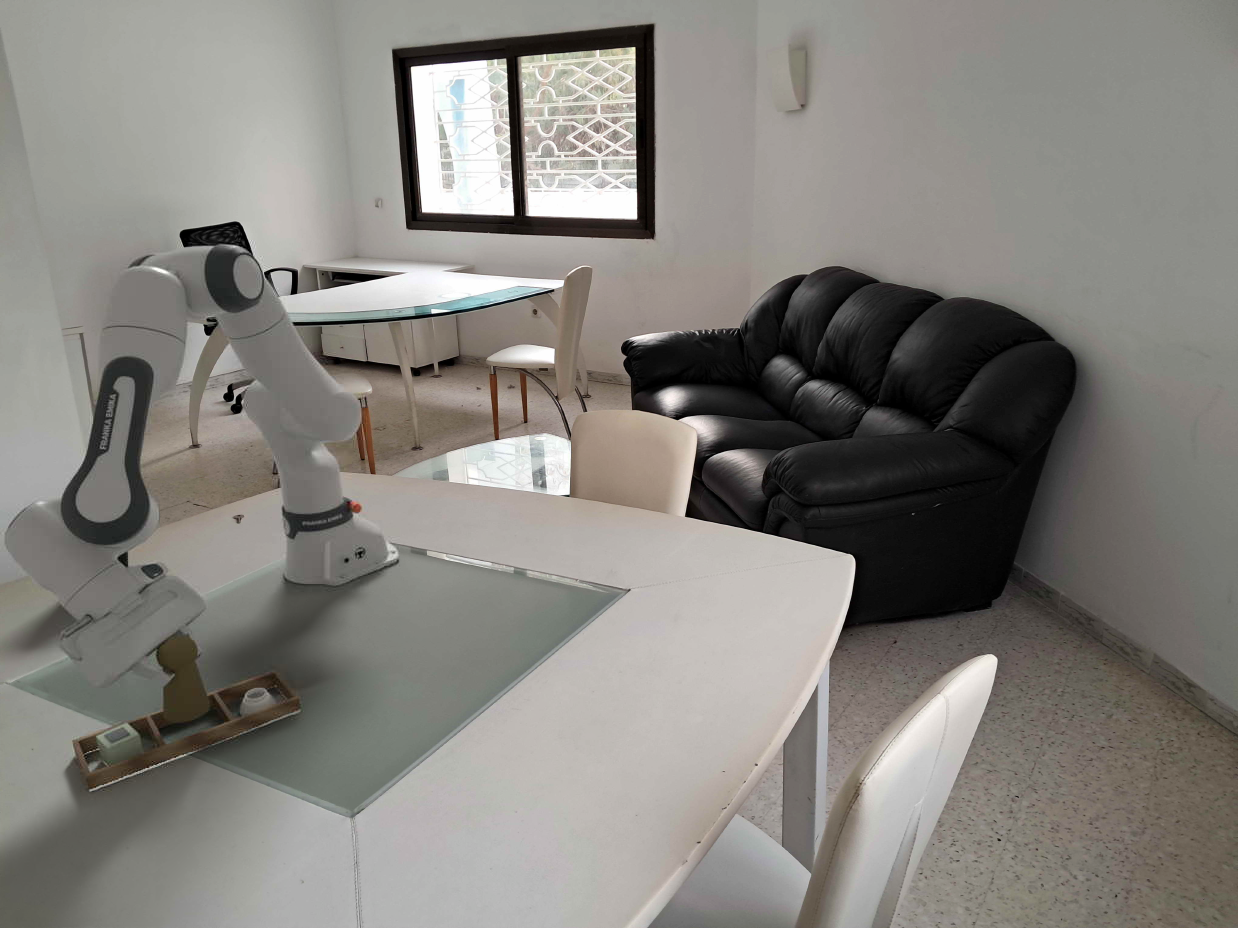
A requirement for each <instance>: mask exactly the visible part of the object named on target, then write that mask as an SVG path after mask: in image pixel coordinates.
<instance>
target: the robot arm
mask: <svg viewBox="0 0 1238 928" xmlns="http://www.w3.org/2000/svg"><path fill="white" fill-rule="evenodd" d="M106 304H107V305H106V308H105V312H104V316H103V320H102V326H101V331H100V338H99V345H98V365H97V366H98V395H97V399H96V406H95V410H94V415H93V420H92V425H91V430H90V435H89V440H88V445H87V449H86V453H85V456H84V459H83V461H82V463H81V465H80V467H79V468H78V470H77V471H76V473H75V474H74V475H73V477H72V478H71V480H70V481H69V482H68V484H67V486H66V488H65V489H64V492H63V493H62V496H61V497H60V498H53V499H40V500H39V499H38V500H37V501H36V500H35V502H32V503H31V504H29V505H28V506H26V507H24V508H23V509H22V510H21V511H20V512H19V513H18V514H17V515H16V516H14V518H13V519H12V521H11V522H10V524H9V525H8V526H7V529H6V532H5V534H4V537H3V538H4V539H3V540H4V541H3V542H4V546H5V549H6V551H7V553H8V554H9V555H10V557H11V559H13V560H14V562H16V564H17V565H18V566H19V567H20V568H21V569H22V571H24V572H25V573H26V575H28V577H30V578H31V579H32V580H33V581H34V582H35V583H36V584H37V585H38V586H40V588H43V589H45V590H46V591H49V592H51V593H52V594H53V595H54V596H55V597H56V598H57V599H58V602H59V603H60V605H61V607H62V608H64V610H66V611H67V613H69V614H70V615H71V616H72V617H74V619H75V620H77V621H76V622H74V623H73V624H72V625H70V626H68V627H66V628H64V629H63V630H62V631H61V632H60V636H59V639H58V647H59V649H60V650H61V651H62V652H63V653H64V654H65V655H67V657H68V658H69V659H70V660H71V662H72V663H73V665H74V666H75V667H76V668H77V669H78V671H79V672H80V673H81V674H82V675H83V677H85V678H86V679H87V681H88V682H89V683H90V684H91V685H92V686H93V687H95V688H100V689H105V690H106V689H108V688H109V687H110V686H112V685H113V684H114V683H116V682H117V681H118V680H120V678H122V677H123V676H124V675H127V673H128V672H130V671H132V672H133V673H134V674H135V675H136V676H139V677H142V678H145V679H149V680H153V681H154V682H155V683H156V684H157V685H159V686H160V687H161V688H163V687H164V686H165V685H166V684H168V683H169V682H170V681H171V680H172V679H173V678H174V677H175V674H174V673H173V672H171V671H170V669H169V668H167V667H165V668H164V669H163V668H160V667H157V666H155V665H152V660H151V659H150V658H149V657H150V655H152V654H153V653H154V652H156V651H157V649H158V647H159V645H160V644H161V643H163V642H165V641H166V640H168V639H171V638H175V637H188V638H191V639H192V640H193V641H195V643H196V645H197V648H198V655H197V658H196V660H197V659H198V658H200V657H201V656H202V655H203V653H204V650H203V648H202V647H201V646H200V645H198V644H197V642H196V639H195V638H196V637H195V636H194V635H195V634H194V633H193V630H192V629H191V628H190V627H189V626H190V624H192V623H194V621H196V620H197V619H198V618H199V616H201V615H202V614H203V612H204V611H206V608H207V607H206V603H205V600H204V598H203V597H202V596H201V595H200V594H199V593H198V592H197V591H196V590H195V589H194V588H193V587H191V586H190V585H189V584H188V583H186V582H185V580H183V579H182V578H180V577H178V576H177V575H173V574H168V572H169V567H168V566H167V565H166V564H165V563H164V562H162V561H159V560H158V561H154V562H153V561H152V562H148V563H144V564H138V565H131V566H128V567H127V568H126V567H125V566H124V565H123V564H122V563H120V562H119V561H118V559H117V557H118V556H120V555H122V554H124V553H126V552H128V553H129V551H131V550H133V549H134V548H136V547H138V546H140V545H142V544H144V543H145V542H146V541H147V540H149V539H150V538H151V537H152V535H154V533H155V531H156V530H157V529H158V526H159V522H160V517H161V516H160V515H161V512H160V507H159V504H158V502H157V500H156V498H154V496H153V495H152V493H150V492H149V491H148V490H147V487H146V485H145V482H144V480H143V477H142V471H141V463H142V462H141V461H142V457H143V451H144V445H145V438H146V432H147V426H148V421H149V416H150V413H151V410H152V408H153V406H154V405H155V403H156V402H157V401H158V400H159V399H161V398H163V397H164V396H167V395H168V394H169V393H171V392H172V391H173V390H174V389H175V387H176V386H177V382H178V379H179V377H180V374H181V373H182V372H181V371H182V368H183V364H184V359H185V354H186V353H185V352H186V346H187V335H188V320H200V319H206V318H207V317H208V318H210V317H215V319H216V321H217V323H218V326H219V327H220V328H221V330H222V332H223V335H224V336H225V338H226V339H227V341H228V343H229V345H230V346H231V348H232V350H233V352H234V354H235V355H236V357H237V359H238V360H239V363H240V364H241V366H242V368H243V369H244V371H245V372H246V373H247V374H248V375H249V376H250V377H251V378H253V379H254V381H253V382H251V383H250V384H249V385H248V387H247V389H246V391H245V393H244V397H243V408H244V412H245V414H246V416H247V418H248V419H249V420H250V421H251V422H252V423H254V425H255V426H256V427H257V429H258V430H259V431H260V433H261V435H262V437H263V438H264V441H265V442H266V445H267V447H268V449H269V450H270V453H271V456H272V458H273V461H274V462H275V466H276V468H277V472H278V473H277V474H278V477H279V484H280V489H281V496H282V498H281V499H282V503H283V505H282V506H281V515H282V516H281V522H282V527H283V532H284V535H285V537H286V544H285V545H286V549H285V550H286V552H285V554H286V555H285V562H284V568H283V576H284V578H285V579H286V580H287V581H290V582H292V583H295V584H301V585H328V586H334V587H335V586H336V587H338V586H341V584H342V585H344V584H346V583H345V582H347V581H349V580H352V579H354V578H356V577H358V576H361V577H363V576H362V575H363V574H366V573H368V572H371V571H373V570H375V569H378V568H380V567H382V566H385V565H387V564H390V563H392V562H394V561H396V560H398V559H399V560H400V555H399V551H398V549H397V548H396V546H394V545H393V544H392V543H390V542H389V541H387V540H386V538H385V535H384V533H383V531H382V530H381V529H380V527H379V526H378V525H376V524H375V523H373V522H372V521H370V520H368V519H366V518H364V517H363V516H360V515H358V514H360V513H361V511H362V510H363V509H362V508H363V506H362V504H360V503H358V502H357V501H354V500H352V499H350V498H348V497H346V496H343V490H342V481H341V470H340V466H339V463H338V461H337V459H336V457H335V456H334V455H333V454H332V453H331V452H330V451H329V449H328V448H327V447H326V446H325V443H342V442H346V441H348V440H349V439H351V438H352V437H353V436H355V434H356V432H358V431H359V428H360V425H361V422H362V417H363V415H362V414H363V413H362V412H363V410H362V406H361V403H360V400H358V398H357V397H356V395H354V394H353V393H352V392H350V391H349V390H347V389H346V388H345V387H343V386H342V385H341V384H340V383H338V382H337V381H336V380H335V379H334V378H333V377H332V376H331V374H329V373H328V371H327V370H326V369H325V368H324V367H323V366H322V365H321V363H319V361H318V360H317V359H316V358H315V356H314V355H313V354H312V353H311V352H310V350H309V349H308V347H307V346H306V345H305V343H304V342H303V340H302V338H301V337H300V335H299V333H298V330H297V329H296V327H295V325H294V323H293V321H292V319H291V318H290V316H289V314H288V311H287V310H286V309H285V306H284V303H282V301H281V299H280V297H279V295H278V294H277V292H276V291H275V289H274V287H273V286H272V285H271V283H270V282H269V280H268V279H267V278H266V276H265V275H264V272H263V269H262V267H261V264H260V263H259V261H258V260H257V258H256V257H255V256H254V255H253V254H252V253H251V252H250V251H248V250H247V249H246V248H244V247H241V246H238V245H233V244H222V243H221V244H217V245H199V246H198V245H193V246H187V247H186V246H185V247H182V248H179V249H174V250H169V251H165V252H161V253H150V254H146V255H144V256H141V257H139V258H137V259H136V260H134V261H133V262H131V263H130V264H129V266H128V267H127V268H126V269H124V270H122V272H121V273H120V274H119V275H118V276H117V278H116V280H115V282H114V284H113V287H112V290H111V292H110V295H109V298H108V301H107V303H106ZM378 570H379V569H378ZM371 573H372V572H371ZM366 575H367V574H366ZM356 579H357V578H356ZM354 580H355V579H354ZM352 581H353V580H352ZM349 582H350V581H349ZM343 583H344V584H343ZM347 583H348V582H347ZM337 585H338V586H337Z"/></svg>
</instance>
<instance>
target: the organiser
mask: <svg viewBox="0 0 1238 928" xmlns="http://www.w3.org/2000/svg"><path fill="white" fill-rule="evenodd" d="M275 685H276V686H277V687H276V688H278V689H279V690H280V691H281V692H282V694H283V695H284V696H285V697H286V698H287V700H286V699H285V700H283V701H280V702H278V703H276V704H274V705H272V706H269V707H266V708H264V709H261V710H258V711H256V712H253V713H250V714H247V715H245V716H242V715H241V716H239V717H236V718H235V717H234V716H233V714H232V713H231V712H230V710H229V708H228V707H227V706H226V705H228V704H230V702H231V703H233V701H234V702H236V700H237V701H239V700H241V699H240V698H242V699H244V697H245V694H246V693H247V692H248V691H249V690H251V689H254V688H264V689H267V690H269V689H268V688H270V689H272V688H271V687H273V688H275V687H274V686H275ZM278 689H277V690H278ZM279 690H278V691H279ZM280 691H279V692H280ZM281 692H280V693H281ZM282 694H281V695H282ZM283 695H282V696H283ZM207 696H208V699H209V702H210V708H209V711H211V710H214V709H215V711H216V710H217V711H216V712H217V714H218V713H219V714H218V715H219V717H220V716H221V717H220V718H221V720H222V719H223V720H222V721H223V723H221V724H218V725H216V726H213V727H210V728H207V729H204V730H201V731H199V732H196V733H194V734H191V735H188V736H186V737H184V738H180V739H177V740H174V741H171V742H170V743H167V744H166V743H165V742H166V741H164V739H163V737H162V735H161V733H160V731H159V729H161V728H164V727H166V726H170V725H172V724H175V723H176V722H170V721H167V720H166V719H165V718H164V711H163V708H161V709H160V710H157V711H154V712H150V713H148V714H144V715H142V716H139V717H136V718H133V719H130V720H128V721H124V722H121V723H118V724H116V725H114V726H113V725H112V726H111V727H108V728H104V729H101V730H99V731H96V732H92V733H90V734H87V735H83V736H81V737H78V738H76V739H73V740H72V746H73V750H74V753H75V754H74V755H75V757H77V758H76V760H77V763H78V762H79V763H78V765H80V766H79V768H80V771H81V770H82V771H81V773H83V774H82V776H83V779H84V778H85V779H84V781H86V782H85V784H86V783H87V784H86V787H87V786H88V787H87V789H89V790H90V789H93V788H96V787H98V786H100V785H104V784H107V783H109V782H112V781H115V780H118V779H119V778H123V777H124V776H127V775H131V774H133V773H135V772H138V771H141V770H143V769H145V768H149V767H150V766H153V765H157V764H159V763H162V762H165V761H167V760H170V759H172V758H176V757H178V756H180V755H184V754H187V753H189V752H193V751H196V750H199V749H202V748H205V747H207V746H210V745H212V744H215V743H217V742H219V741H222V740H225V739H227V738H230V737H233V736H235V735H238V734H240V733H243V732H244V731H248V730H251V729H252V728H255V727H258V726H260V725H262V724H264V723H267V722H269V721H271V720H274V719H277V718H280V717H282V716H284V715H287V714H290V713H293V712H295V711H298V710H299V709H301V710H302V708H301V701H300V699H301V698H300V696H299V695H298V694H297V693H296V692H295V691H294V689H293V688H292V687H291V685H290V684H289V683H288V682H287V681H286V679H285V678H284V677H283V676H282V675H281V673H280V672H279V671H278V670H277V669H274V670H271V671H268V672H266V673H262V674H260V675H256V676H255V677H251V678H249V679H245V680H243V681H240V682H236V683H234V684H231V685H229V686H225V687H222V688H219V689H217V690H214V691H211V692H208V693H207ZM284 696H283V697H284ZM285 697H284V698H285ZM238 699H239V700H238ZM227 703H228V704H227ZM210 709H211V710H210ZM224 722H225V723H224ZM125 723H128V724H129V725H130V726H131V727H132V728H133V729H134V730H135V731H136V732H137V733H138V734H139V736H141V735H144V734H148V733H149V735H150V737H151V739H152V740H153V743H154V745H155V744H156V745H155V747H156V746H157V747H156V748H153V749H151V750H148V751H146V752H143V753H142V754H139V755H137V756H134V757H131V758H129V759H126V760H123V761H121V762H118V763H115V764H113V765H110V766H103V768H99V769H97V770H94V771H92V772H91V771H90V769H89V766H88V763H87V761H86V758H85V755H83V754H85V753H87V752H89V751H93V750H96V749H98V744H97V739H96V736H98V735H100V734H102V733H104V732H107V731H109V730H111V729H113V728H116V727H118V726H120V725H123V724H125ZM169 724H170V725H169ZM89 790H88V791H89Z"/></svg>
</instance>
